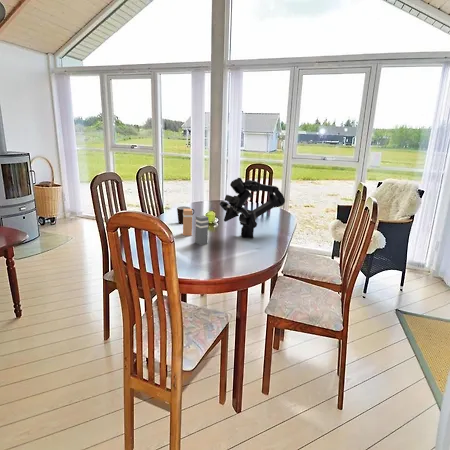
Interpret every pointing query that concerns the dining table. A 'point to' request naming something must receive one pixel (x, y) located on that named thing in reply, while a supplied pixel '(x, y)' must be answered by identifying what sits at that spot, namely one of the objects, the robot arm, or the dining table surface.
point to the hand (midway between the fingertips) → (224, 221)
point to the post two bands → (201, 230)
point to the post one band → (187, 222)
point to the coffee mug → (181, 213)
